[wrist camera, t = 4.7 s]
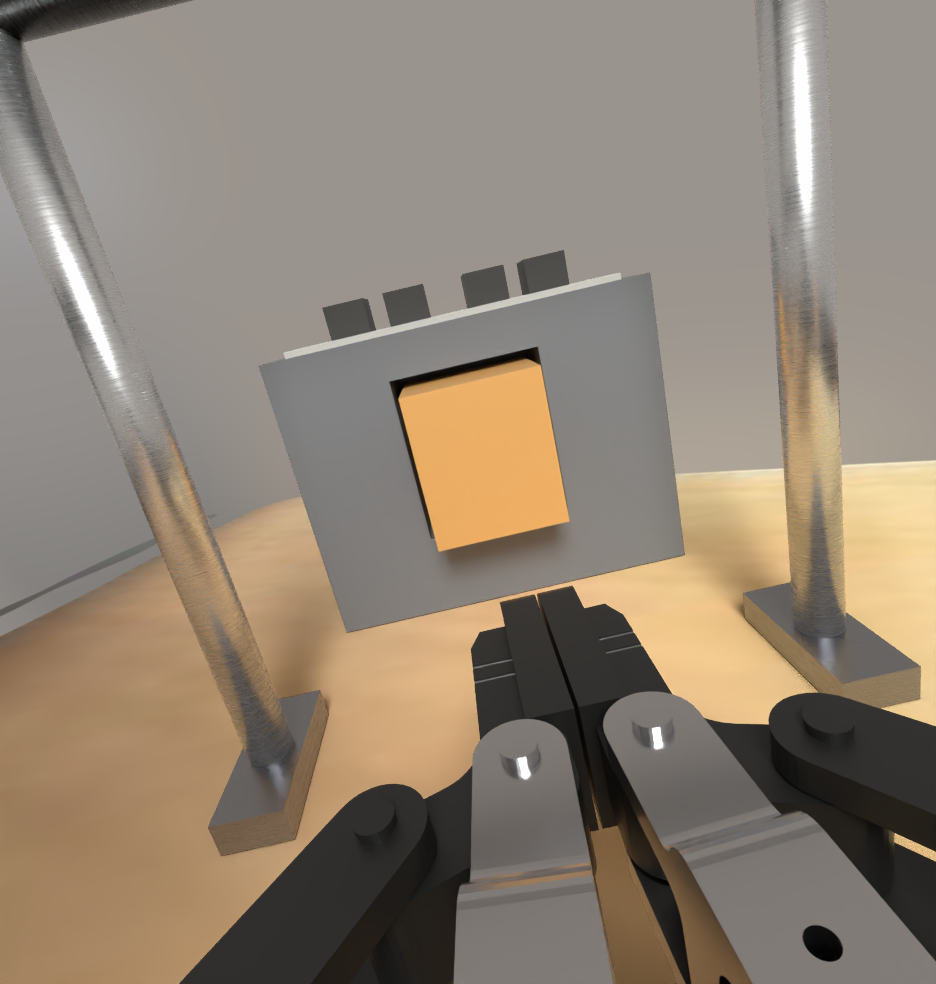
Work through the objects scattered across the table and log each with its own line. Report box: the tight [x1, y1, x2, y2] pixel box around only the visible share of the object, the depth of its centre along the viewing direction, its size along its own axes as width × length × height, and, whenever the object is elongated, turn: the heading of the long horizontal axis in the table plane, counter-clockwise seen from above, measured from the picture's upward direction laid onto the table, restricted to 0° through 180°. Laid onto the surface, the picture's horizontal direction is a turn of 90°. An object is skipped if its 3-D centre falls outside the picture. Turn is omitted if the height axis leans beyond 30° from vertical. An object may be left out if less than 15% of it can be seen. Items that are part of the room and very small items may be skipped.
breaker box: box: [259, 250, 685, 632], centre depth 31 cm, size 18×8×16 cm, turn 94°
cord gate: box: [0, 0, 921, 856], centre depth 17 cm, size 22×6×25 cm, turn 93°
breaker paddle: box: [399, 357, 569, 551], centre depth 27 cm, size 6×5×7 cm
